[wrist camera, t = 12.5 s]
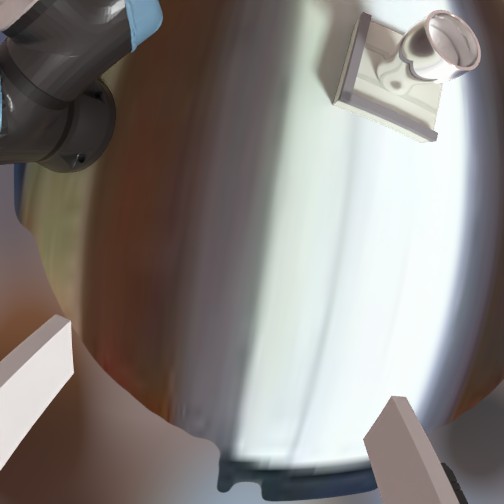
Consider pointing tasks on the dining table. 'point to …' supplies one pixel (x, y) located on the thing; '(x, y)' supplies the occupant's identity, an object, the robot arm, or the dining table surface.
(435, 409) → the dining table surface
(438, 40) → the beer glass
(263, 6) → the dining table surface
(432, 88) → the dock
